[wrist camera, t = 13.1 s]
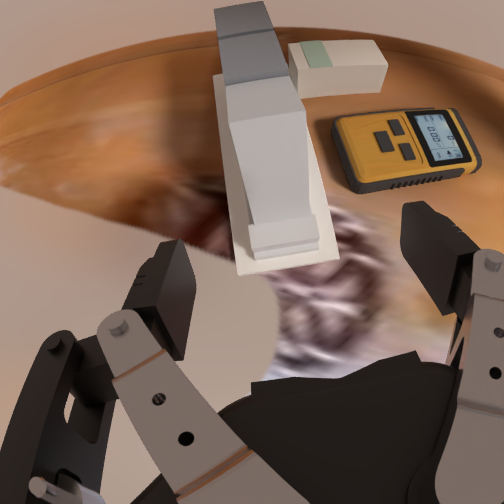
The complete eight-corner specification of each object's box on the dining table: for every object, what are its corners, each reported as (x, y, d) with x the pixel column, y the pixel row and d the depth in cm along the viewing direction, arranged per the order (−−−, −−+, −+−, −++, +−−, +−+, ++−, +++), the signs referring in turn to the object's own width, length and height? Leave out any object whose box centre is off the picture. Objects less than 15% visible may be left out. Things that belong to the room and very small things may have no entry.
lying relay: (366, 67, 32) (373, 39, 27) (379, 93, 31) (388, 64, 26) (289, 73, 32) (287, 43, 27) (297, 100, 31) (297, 68, 26)
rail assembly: (286, 66, 32) (282, -11, 21) (338, 259, 27) (371, 218, 16) (213, 78, 33) (189, 5, 22) (238, 276, 28) (204, 245, 16)
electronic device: (326, 131, 31) (329, 112, 27) (444, 117, 29) (454, 101, 26) (351, 201, 29) (358, 187, 25) (473, 178, 27) (487, 165, 24)
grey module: (297, 173, 27) (288, 75, 19) (309, 215, 25) (305, 110, 16) (247, 182, 28) (224, 86, 19) (253, 225, 25) (226, 123, 17)
